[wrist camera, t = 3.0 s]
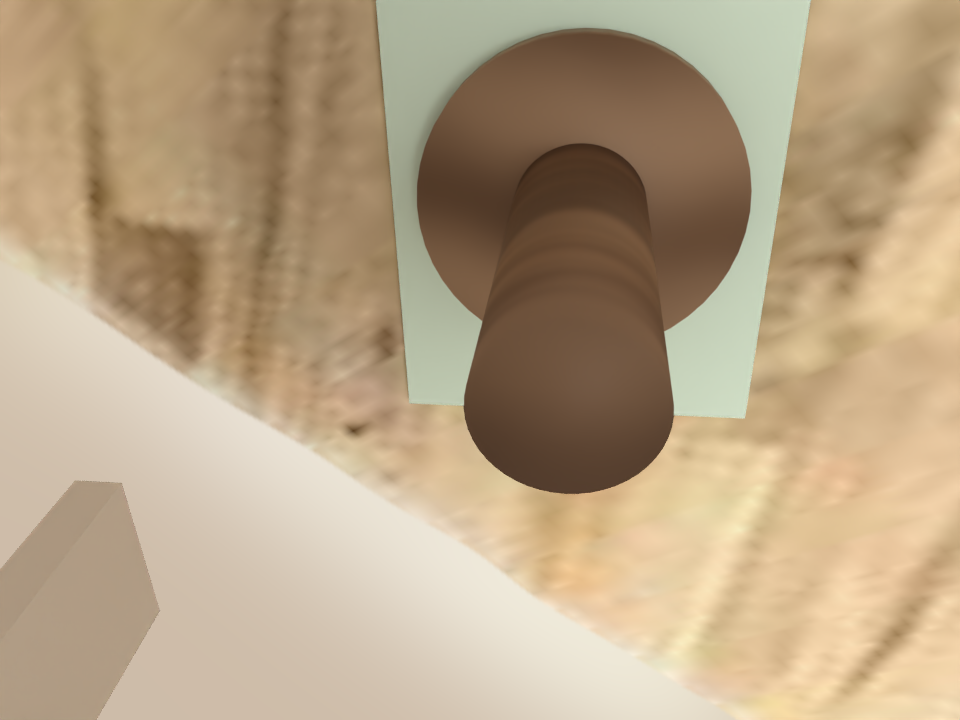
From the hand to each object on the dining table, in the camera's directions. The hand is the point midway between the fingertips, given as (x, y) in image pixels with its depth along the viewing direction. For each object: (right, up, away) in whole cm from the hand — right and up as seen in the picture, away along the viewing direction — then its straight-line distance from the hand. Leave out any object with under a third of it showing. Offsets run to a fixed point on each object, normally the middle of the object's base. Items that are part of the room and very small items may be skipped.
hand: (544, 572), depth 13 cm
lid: (+2, +8, +14) cm, 16 cm away
